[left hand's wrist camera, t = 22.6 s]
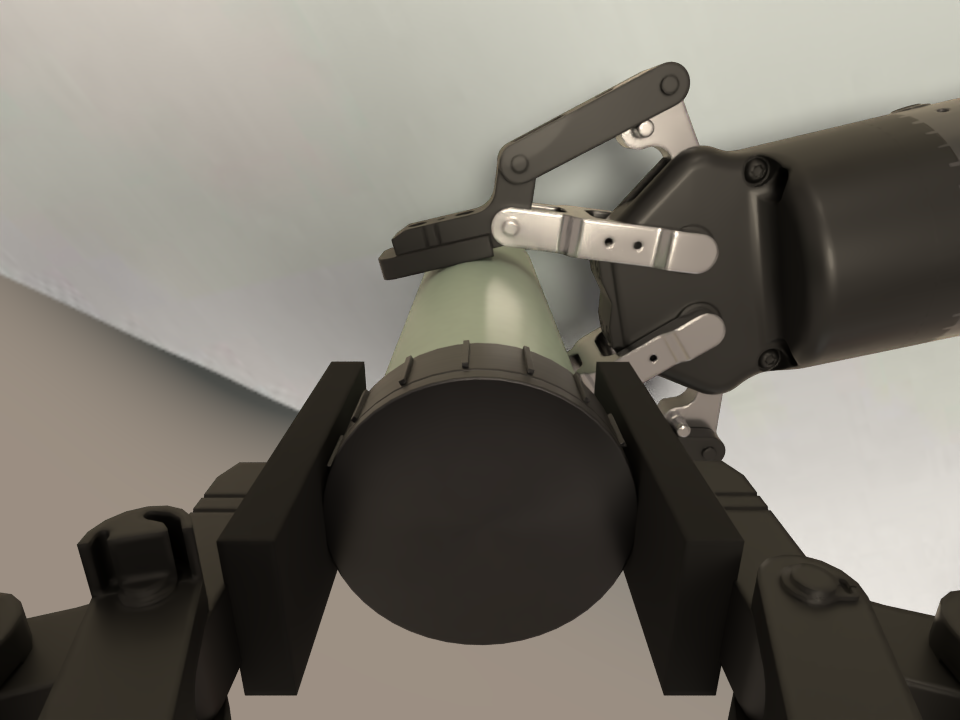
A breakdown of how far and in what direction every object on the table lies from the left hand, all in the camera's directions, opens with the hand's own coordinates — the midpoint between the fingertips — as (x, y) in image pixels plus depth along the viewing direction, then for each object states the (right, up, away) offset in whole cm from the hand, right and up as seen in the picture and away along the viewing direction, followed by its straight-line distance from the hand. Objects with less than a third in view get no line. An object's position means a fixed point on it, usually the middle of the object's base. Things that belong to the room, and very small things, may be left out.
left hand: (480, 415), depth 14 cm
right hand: (-2, +2, +7) cm, 8 cm away
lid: (0, -1, -4) cm, 4 cm away
